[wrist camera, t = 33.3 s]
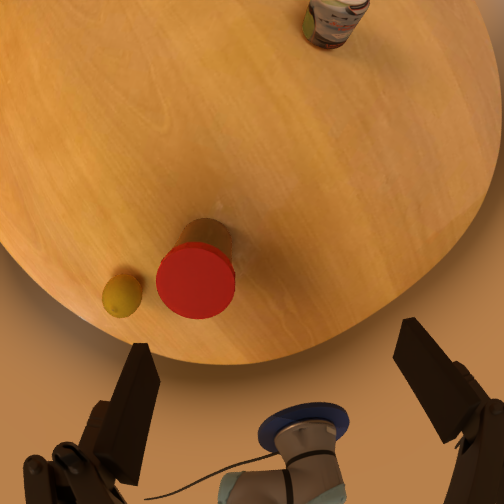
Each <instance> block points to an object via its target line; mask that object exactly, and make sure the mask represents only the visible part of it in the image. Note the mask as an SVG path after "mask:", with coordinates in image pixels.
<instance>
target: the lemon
mask: <svg viewBox="0 0 504 504" xmlns="http://www.w3.org/2000/svg"><path fill="white" fill-rule="evenodd" d="M141 300H142V288H141V286H140V283H139V282H138V281H137V279H135V278H134V277H133V276H131V275H127V274H120V275H116V276H115V277H113V278H111V279H110V280H109V282H108V283H107V284H106V286H105V288H104V290H103V294H102V302H103V306H104V308H105V310H106V311H107V312H108V313H109V314H110V315H112V316H114V317H116V318H125V317H128V316H130V315H131V314H133V313H134V312H135V311H136V310H137V308H138V307H139V305H140V303H141Z"/></svg>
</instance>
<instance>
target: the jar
mask: <svg viewBox="0 0 504 504" xmlns="http://www.w3.org/2000/svg"><path fill="white" fill-rule="evenodd" d="M187 242H202V243H203V242H204V243H207V244H210V245H212V246H214V247H216V248H218V249H219V250H220V251H222V252H223V253H224V254H225V255H226V256H227V257H228V259H230V262H231V264H232V238H231V235H230V232H229V231H228V229H227V228H226V227H225V226H224V225H223V224H222V223H220V222H218V221H217V220H214V219H210V218H201V219H197V220H194V221H192V222H191V223H189V224H188V225H187V226H186V227H185V228H184V230H183V231H182V233H181V235H180V237H179V239H178V240H177V242H176V244H175V246H174V248H175V247H176V246H178V245H181V244H184V243H187Z"/></svg>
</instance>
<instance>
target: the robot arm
mask: <svg viewBox="0 0 504 504" xmlns="http://www.w3.org/2000/svg"><path fill="white" fill-rule="evenodd" d="M393 359H394V361H395V363H396V364H397V366H398V367H399V369H400V370H401V372H402V374H403V375H404V377H405V379H406V380H407V382H408V384H409V385H410V387H411V389H412V390H413V392H414V393H415V395H416V397H417V398H418V400H419V402H420V404H421V405H422V407H423V409H424V410H425V412H426V414H427V416H428V417H429V419H430V421H431V423H432V424H433V426H434V428H435V430H436V432H437V433H438V435H439V437H440V439H441V440H442V442H443V444H445V443H447V442H449V441H451V440H453V439H455V438H456V437H457V436H458V435H459V433H460V432H461V431H462V433H463V437H462V438H461V439H460V441H459V442H458V443H457V445H456V446H455V449H456V448H457V447H458V446H459V445H460V448H459V452H458V457H457V460H456V464H455V468H454V472H453V475H452V479H451V482H450V486H449V489H448V492H447V495H446V498H445V501H444V503H443V504H504V403H503V402H502V401H501V400H499V399H490V398H489V397H488V395H487V394H486V393H485V391H484V390H483V388H482V387H481V386H480V385H479V383H478V382H477V381H476V380H475V379H474V377H473V376H472V375H471V374H470V372H469V371H468V369H467V368H466V367H465V366H464V365H463V364H461V363H459V362H458V361H455V362H452V361H451V360H450V359H449V358H448V356H447V355H446V354H445V353H444V351H443V350H442V349H441V348H440V347H439V345H438V344H437V343H436V342H435V341H434V339H433V338H432V337H431V336H430V335H429V333H428V332H427V331H426V330H425V329H424V328H423V326H422V325H421V324H420V323H419V322H418V321H417V320H416V318H415V317H412V318H407V319H403V322H402V325H401V329H400V333H399V337H398V341H397V344H396V348H395V351H394V355H393ZM159 386H160V378H159V376H158V373H157V370H156V367H155V364H154V361H153V358H152V355H151V352H150V349H149V346H148V343H133V346H132V348H131V351H130V353H129V355H128V358H127V360H126V363H125V365H124V367H123V370H122V373H121V375H120V377H119V380H118V382H117V385H116V387H115V390H114V393H113V395H112V398H111V401H101V400H100V401H99V402H98V403H97V404H96V405H95V407H94V408H93V410H92V412H91V414H90V418H89V419H88V422H87V426H86V427H85V429H84V432H83V434H82V437H81V440H80V442H79V445H78V446H77V445H76V444H74V443H73V442H62V443H60V444H59V445H57V446H56V447H55V449H54V450H53V453H52V459H53V461H46V460H45V459H44V458H43V457H42V456H40V455H32V456H29V457H28V458H27V459H26V460H25V462H24V466H23V474H24V488H25V498H26V504H127V503H126V501H125V500H124V498H123V497H122V495H121V494H120V492H119V490H118V489H117V488H116V486H115V485H114V484H115V479H117V480H118V481H119V482H120V483H122V484H127V485H133V486H138V481H139V476H140V470H141V466H142V460H143V456H144V451H145V446H146V441H147V436H148V432H149V428H150V423H151V419H152V415H153V410H154V406H155V402H156V397H157V394H158V390H159ZM274 442H275V446H276V448H277V450H278V451H277V452H274V453H271V454H268V455H265V456H262V457H259V458H255V459H252V460H248V461H244V462H240V463H237V464H234V465H231V466H228V467H226V468H224V469H221V470H219V471H217V472H214V473H212V474H210V475H208V476H206V477H204V478H201V479H199V480H197V481H195V482H194V483H192V484H190V485H188V486H186V487H184V488H182V489H179V490H177V491H175V492H173V493H170V494H167V495H163V496H159V497H154V498H147V499H144V500H152V499H158V498H163V497H166V496H170V495H173V494H175V493H178V492H180V491H182V490H184V489H187V488H189V487H190V486H193V485H195V484H196V483H199V482H201V481H203V480H205V479H207V478H209V477H211V476H214V475H216V474H218V473H220V472H223V471H225V470H227V469H230V468H233V467H236V466H239V465H242V464H246V463H250V462H254V461H257V460H261V459H265V458H268V457H271V456H274V455H277V454H281V456H282V458H283V460H284V462H285V464H286V469H282V470H269V471H250V472H246V471H242V472H231V473H227V474H226V475H224V476H223V478H222V480H221V483H220V487H219V493H218V504H344V503H345V501H346V497H347V496H346V492H345V484H344V482H343V479H342V475H341V472H340V468H339V465H338V462H337V458H336V455H335V443H336V428H335V425H334V423H333V422H332V421H331V420H329V419H327V418H322V417H310V418H303V419H299V420H296V421H293V422H291V423H288V424H286V425H285V426H283V427H282V428H280V429H279V430H278V431H277V432H276V434H275V436H274Z"/></svg>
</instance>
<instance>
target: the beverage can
mask: <svg viewBox="0 0 504 504" xmlns="http://www.w3.org/2000/svg"><path fill="white" fill-rule="evenodd" d="M369 4H370V0H310V2H309V5H308V9H307V12H306V15H305V18H304V22H303V26H302V29H303V33H304V35H305V37H306V38H307V39H308V40H309V41H310V42H311V43H313V44H314V45H316V46H319V47H321V48H326V49H334V48H338V47H340V46H342V45H343V44H344V43H345V42H346V40H347V39H348V37H349V36H350V34H351V33H352V31H353V30H354V28H355V27H356V25H357V24H358V22H359V21H360V20H361V18H362V17H363V15H364V14H365V12H366V11H367V9H368V8H369Z"/></svg>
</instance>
